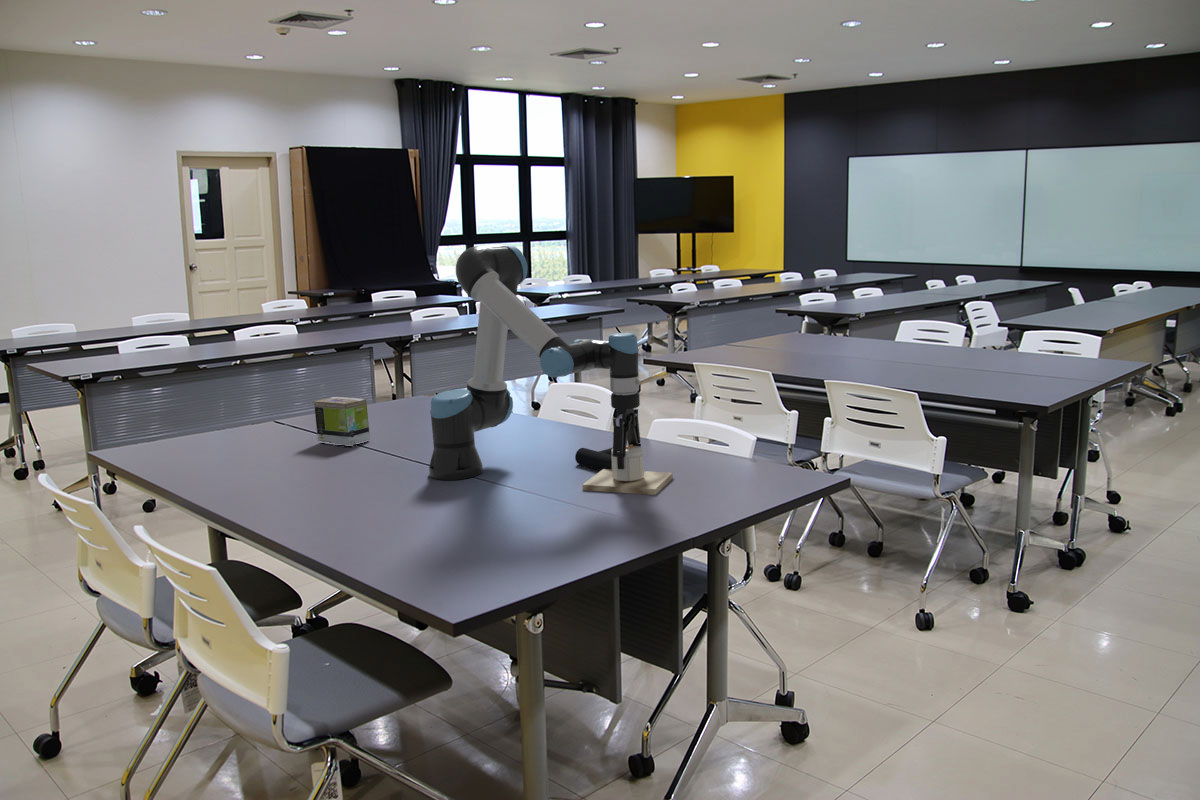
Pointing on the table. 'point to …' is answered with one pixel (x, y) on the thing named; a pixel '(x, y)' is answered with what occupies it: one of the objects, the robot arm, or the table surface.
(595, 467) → the pipe connector
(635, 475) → the knob
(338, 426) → the tea box
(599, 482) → the shaft base
